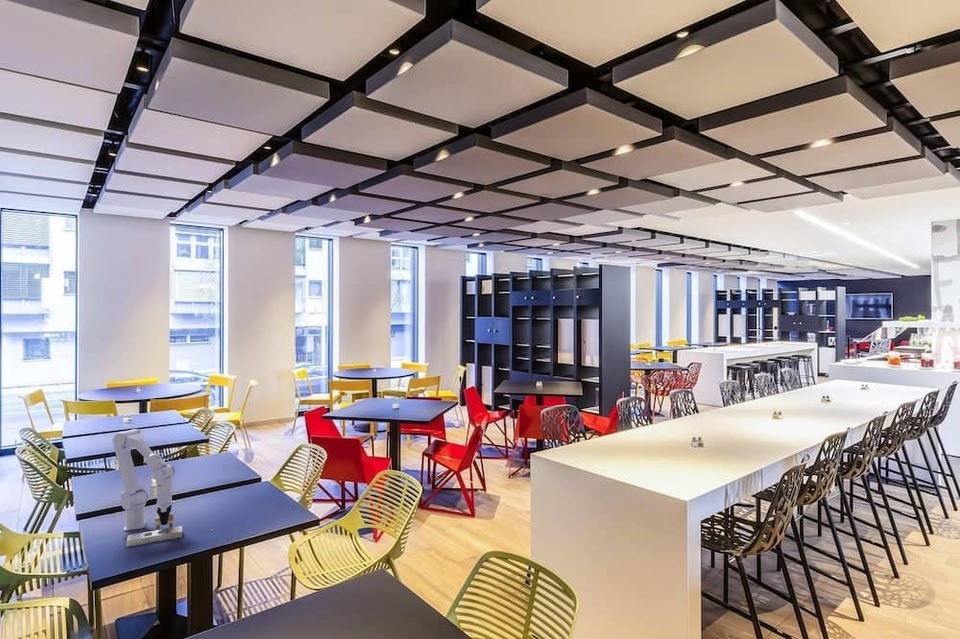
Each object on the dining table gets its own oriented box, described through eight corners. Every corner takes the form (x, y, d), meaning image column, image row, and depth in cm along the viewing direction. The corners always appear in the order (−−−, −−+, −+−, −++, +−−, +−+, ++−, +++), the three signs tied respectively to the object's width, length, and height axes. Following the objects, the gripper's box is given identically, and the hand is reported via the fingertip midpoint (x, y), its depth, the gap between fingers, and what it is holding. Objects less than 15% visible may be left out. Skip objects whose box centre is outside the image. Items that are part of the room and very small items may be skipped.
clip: (155, 530, 235) (155, 516, 235) (173, 527, 238) (173, 514, 238) (155, 532, 232) (155, 519, 232) (173, 529, 236) (173, 516, 236)
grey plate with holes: (128, 540, 223) (128, 535, 223) (182, 531, 233) (182, 525, 233) (126, 546, 217) (126, 540, 217) (181, 537, 227) (181, 531, 227)
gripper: (174, 496, 231) (174, 526, 231) (175, 487, 244) (175, 516, 243) (155, 498, 228) (155, 530, 227) (157, 489, 240) (157, 519, 240)
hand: (164, 523), depth 235 cm, fingers open, 3 cm apart
